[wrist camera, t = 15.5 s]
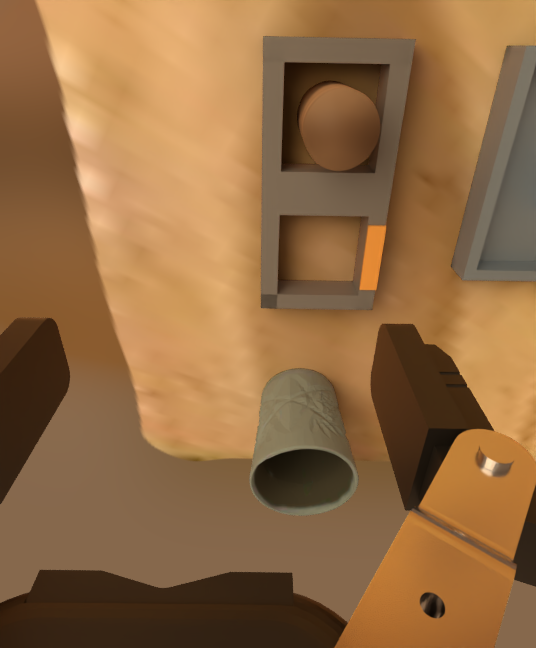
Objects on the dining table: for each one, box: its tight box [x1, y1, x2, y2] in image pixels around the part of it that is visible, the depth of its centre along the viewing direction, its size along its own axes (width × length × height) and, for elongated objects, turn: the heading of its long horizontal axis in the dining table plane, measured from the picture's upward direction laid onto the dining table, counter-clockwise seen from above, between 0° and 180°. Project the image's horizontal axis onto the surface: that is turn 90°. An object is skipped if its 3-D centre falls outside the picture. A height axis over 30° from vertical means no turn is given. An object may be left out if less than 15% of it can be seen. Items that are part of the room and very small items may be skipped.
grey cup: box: [249, 369, 359, 516], centre depth 46 cm, size 10×10×12 cm
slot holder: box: [261, 36, 416, 310], centre depth 37 cm, size 22×10×3 cm, turn 179°
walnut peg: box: [297, 81, 380, 171], centre depth 32 cm, size 5×5×8 cm
